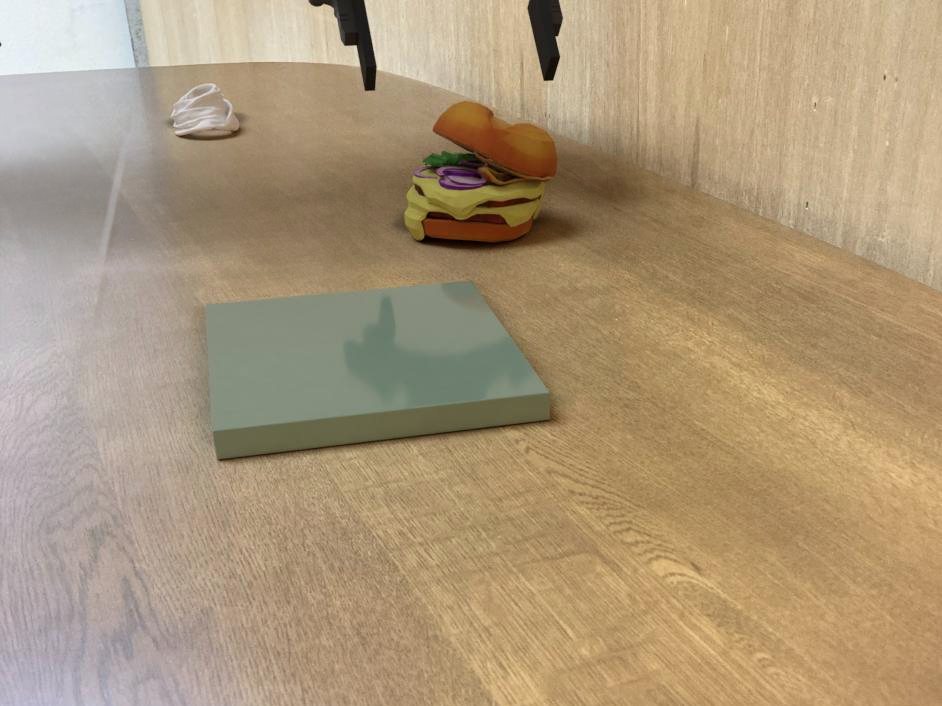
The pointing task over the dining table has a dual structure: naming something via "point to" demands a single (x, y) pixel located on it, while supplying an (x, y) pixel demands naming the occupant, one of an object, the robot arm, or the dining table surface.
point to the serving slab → (363, 369)
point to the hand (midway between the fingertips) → (463, 74)
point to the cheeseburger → (481, 178)
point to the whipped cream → (203, 111)
